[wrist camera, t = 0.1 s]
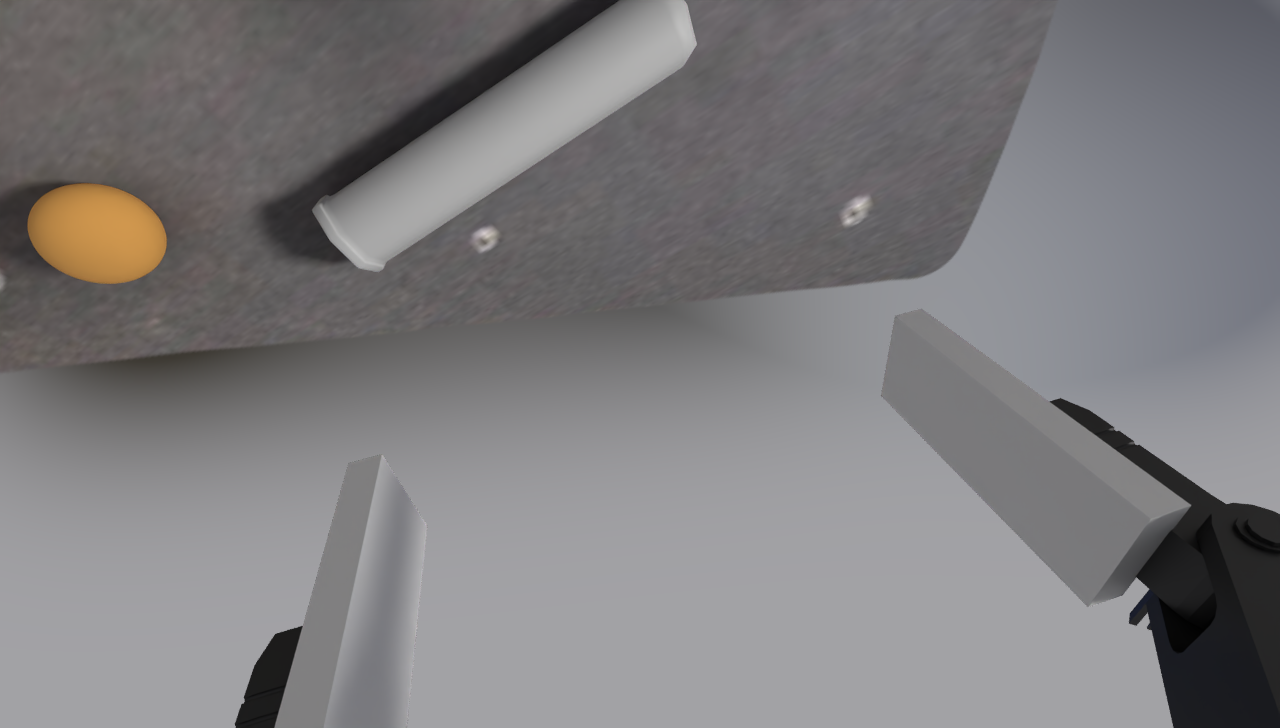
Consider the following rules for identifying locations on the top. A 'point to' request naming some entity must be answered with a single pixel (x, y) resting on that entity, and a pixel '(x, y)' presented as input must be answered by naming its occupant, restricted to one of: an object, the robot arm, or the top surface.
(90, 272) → the ball
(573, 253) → the top surface
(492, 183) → the tube
